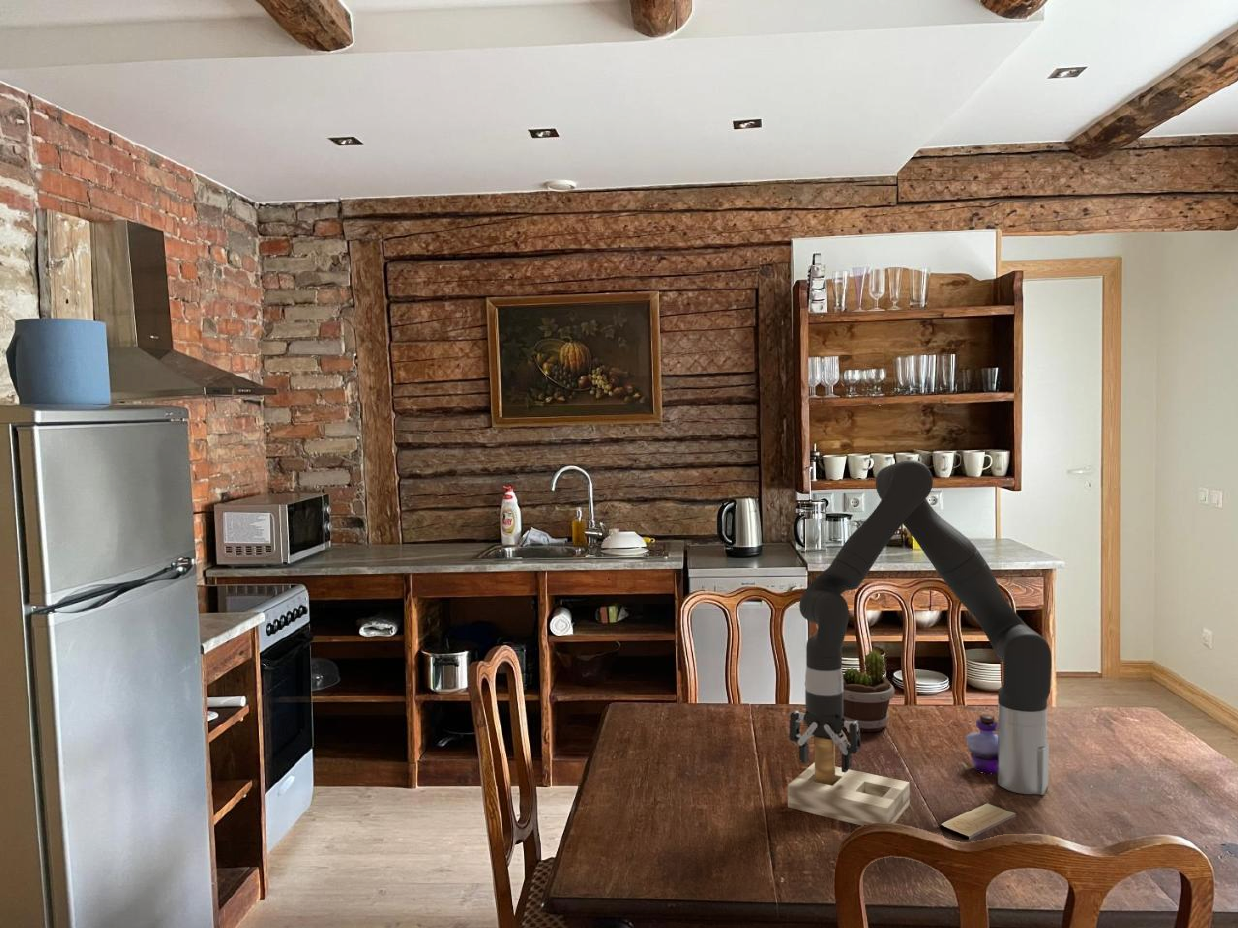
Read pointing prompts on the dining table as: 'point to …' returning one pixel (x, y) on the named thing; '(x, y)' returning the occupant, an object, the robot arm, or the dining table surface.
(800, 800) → the hole block
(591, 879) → the dining table surface
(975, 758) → the potion bottle
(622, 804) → the dining table surface
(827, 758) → the peg
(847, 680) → the flowerpot
